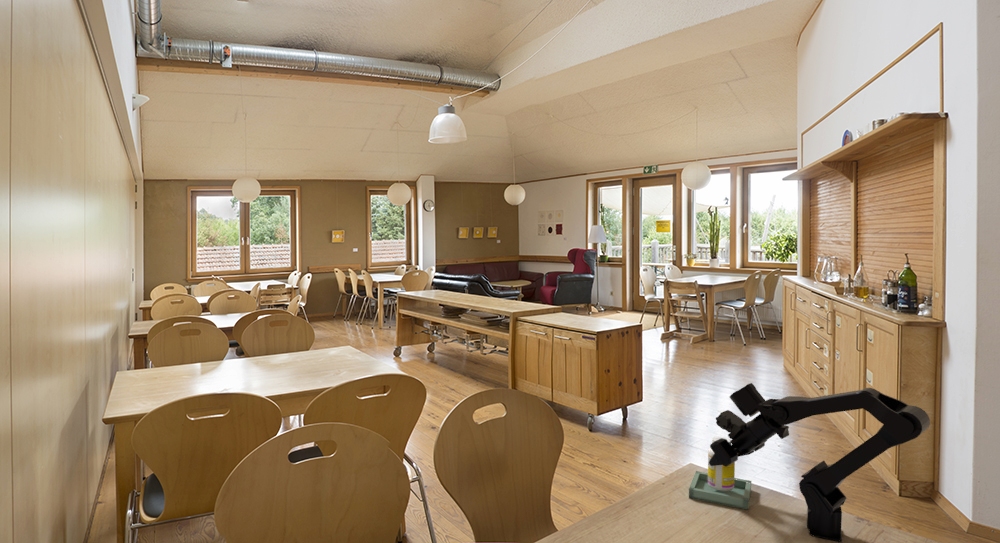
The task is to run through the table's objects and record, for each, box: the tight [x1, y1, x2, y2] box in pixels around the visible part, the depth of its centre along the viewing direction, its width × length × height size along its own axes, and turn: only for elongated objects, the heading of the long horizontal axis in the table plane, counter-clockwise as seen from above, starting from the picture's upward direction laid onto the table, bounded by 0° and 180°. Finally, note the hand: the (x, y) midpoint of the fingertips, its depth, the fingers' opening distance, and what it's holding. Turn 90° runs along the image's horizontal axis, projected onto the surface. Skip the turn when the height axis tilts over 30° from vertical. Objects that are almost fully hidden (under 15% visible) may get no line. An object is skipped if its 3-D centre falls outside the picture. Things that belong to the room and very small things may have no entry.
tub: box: [688, 470, 752, 511], centre depth 153 cm, size 14×12×2 cm
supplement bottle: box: [707, 436, 736, 491], centre depth 153 cm, size 7×7×13 cm
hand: (716, 460), depth 154 cm, fingers closed on supplement bottle, 6 cm apart
